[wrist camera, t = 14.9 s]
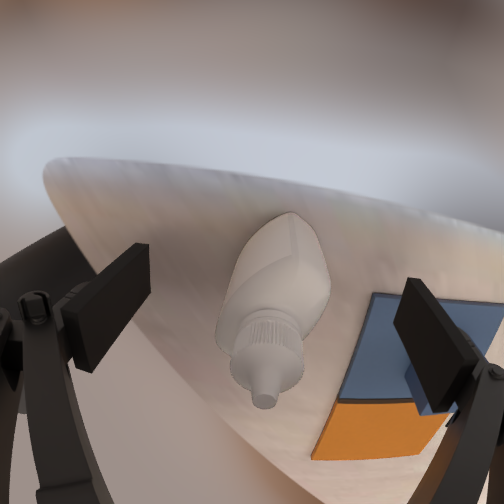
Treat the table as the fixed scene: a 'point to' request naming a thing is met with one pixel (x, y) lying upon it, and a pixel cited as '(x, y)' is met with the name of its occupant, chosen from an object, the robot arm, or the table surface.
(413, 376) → the blue block
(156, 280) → the table surface
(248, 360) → the eye dropper bottle
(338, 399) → the sorting board
